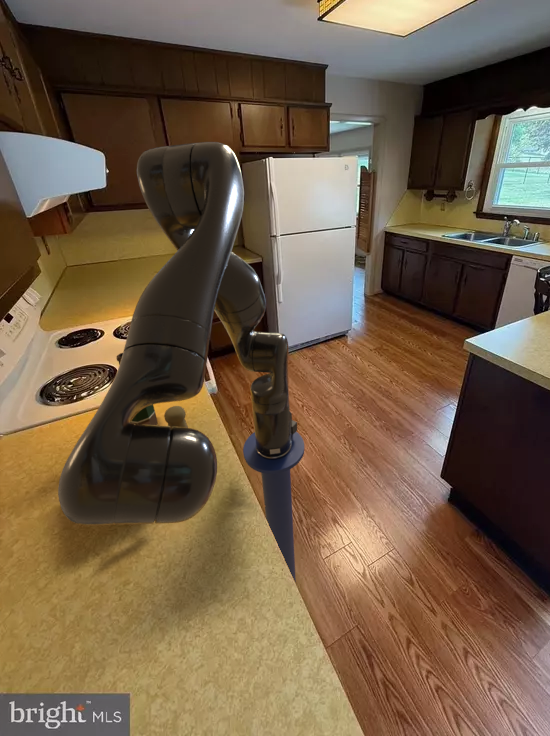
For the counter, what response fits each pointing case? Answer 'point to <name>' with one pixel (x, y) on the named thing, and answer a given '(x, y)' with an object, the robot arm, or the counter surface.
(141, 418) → the beer bottle
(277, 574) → the counter surface
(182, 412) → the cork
